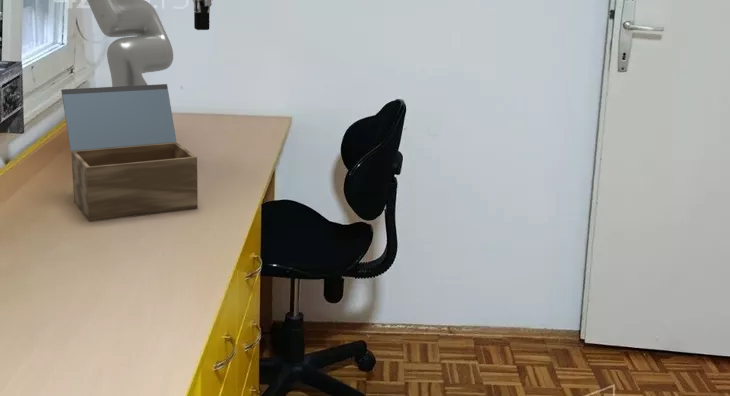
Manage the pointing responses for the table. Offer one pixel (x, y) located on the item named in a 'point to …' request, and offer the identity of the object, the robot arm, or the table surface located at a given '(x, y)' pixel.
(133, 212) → the wooden box
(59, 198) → the table surface
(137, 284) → the table surface
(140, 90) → the lid flap
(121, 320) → the table surface
